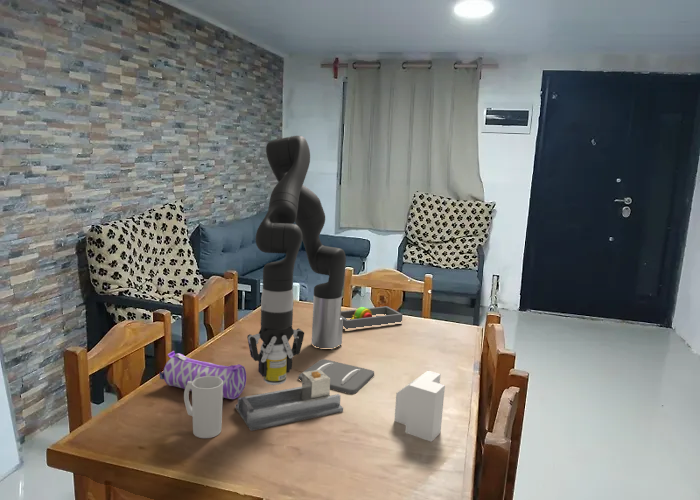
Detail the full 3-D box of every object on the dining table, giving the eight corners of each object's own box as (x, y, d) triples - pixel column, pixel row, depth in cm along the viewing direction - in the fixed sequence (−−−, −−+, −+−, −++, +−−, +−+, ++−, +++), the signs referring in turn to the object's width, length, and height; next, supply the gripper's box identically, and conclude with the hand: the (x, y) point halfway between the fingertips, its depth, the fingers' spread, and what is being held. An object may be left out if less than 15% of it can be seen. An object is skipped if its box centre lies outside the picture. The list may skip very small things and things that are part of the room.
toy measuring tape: (344, 325, 203) (345, 308, 202) (380, 316, 216) (381, 300, 215) (356, 329, 198) (357, 312, 197) (392, 320, 212) (393, 304, 210)
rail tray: (322, 391, 147) (323, 361, 145) (343, 411, 136) (344, 379, 135) (235, 408, 135) (235, 375, 134) (250, 430, 125) (251, 396, 123)
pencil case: (158, 389, 143) (157, 356, 141) (180, 376, 152) (180, 344, 150) (231, 406, 136) (232, 371, 134) (250, 391, 145) (251, 358, 143)
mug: (228, 429, 125) (229, 380, 123) (209, 442, 119) (209, 391, 117) (194, 417, 130) (194, 370, 127) (174, 430, 124) (173, 380, 121)
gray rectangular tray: (386, 315, 216) (387, 306, 216) (401, 324, 207) (402, 314, 206) (332, 322, 205) (333, 312, 204) (346, 331, 195) (346, 320, 195)
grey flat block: (296, 371, 153) (322, 353, 167) (296, 381, 153) (321, 363, 167) (354, 385, 146) (376, 366, 159) (353, 396, 146) (375, 376, 160)
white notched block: (431, 441, 125) (435, 393, 122) (387, 426, 130) (391, 379, 128) (449, 423, 134) (453, 377, 131) (407, 409, 139) (410, 365, 137)
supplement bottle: (264, 376, 135) (265, 338, 133) (286, 376, 135) (287, 338, 134) (262, 385, 130) (263, 346, 128) (285, 385, 130) (287, 347, 128)
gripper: (298, 299, 136) (296, 363, 139) (242, 304, 129) (241, 371, 132) (311, 308, 129) (308, 374, 132) (253, 314, 122) (251, 384, 125)
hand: (275, 373), depth 132 cm, fingers closed on supplement bottle, 5 cm apart
